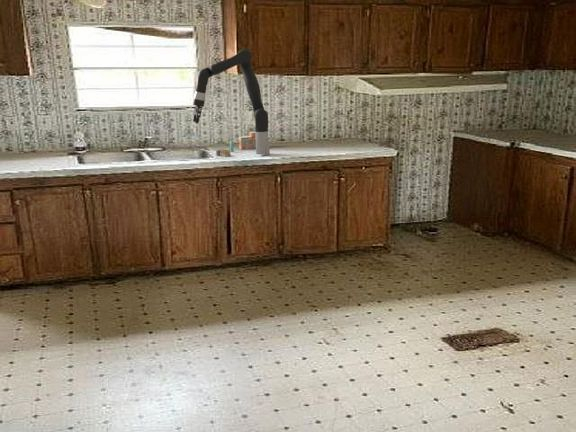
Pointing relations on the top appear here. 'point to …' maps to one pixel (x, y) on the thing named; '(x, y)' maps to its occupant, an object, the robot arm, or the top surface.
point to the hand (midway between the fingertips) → (195, 122)
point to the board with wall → (218, 152)
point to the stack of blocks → (247, 141)
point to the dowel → (231, 146)
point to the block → (225, 153)
